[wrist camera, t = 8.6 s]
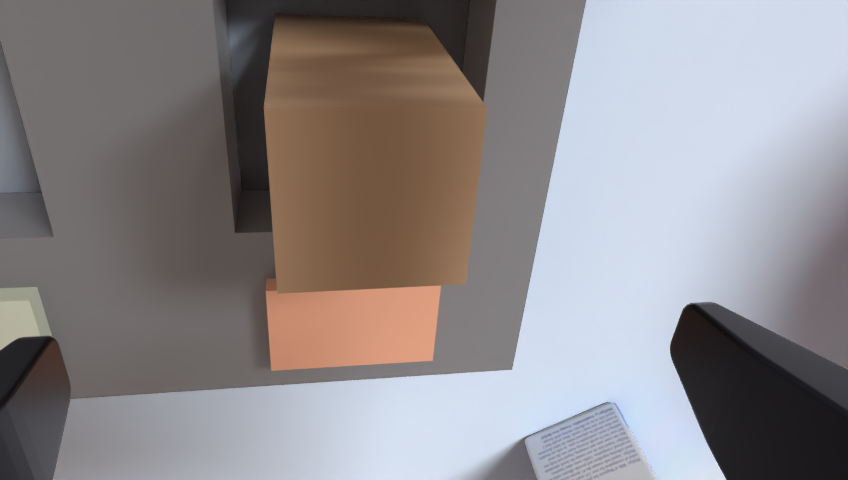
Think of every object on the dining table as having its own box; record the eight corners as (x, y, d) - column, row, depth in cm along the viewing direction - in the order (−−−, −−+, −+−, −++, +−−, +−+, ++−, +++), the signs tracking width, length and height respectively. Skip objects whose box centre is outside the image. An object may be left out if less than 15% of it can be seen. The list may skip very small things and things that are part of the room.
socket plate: (564, -94, 16) (614, -83, 14) (493, 323, 24) (517, 381, 21) (-488, -175, 12) (-695, -179, 10) (-182, 358, 20) (-254, 436, 17)
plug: (423, 18, 17) (487, 107, 12) (415, 151, 19) (465, 284, 14) (275, 14, 17) (263, 107, 11) (283, 153, 19) (277, 293, 13)
